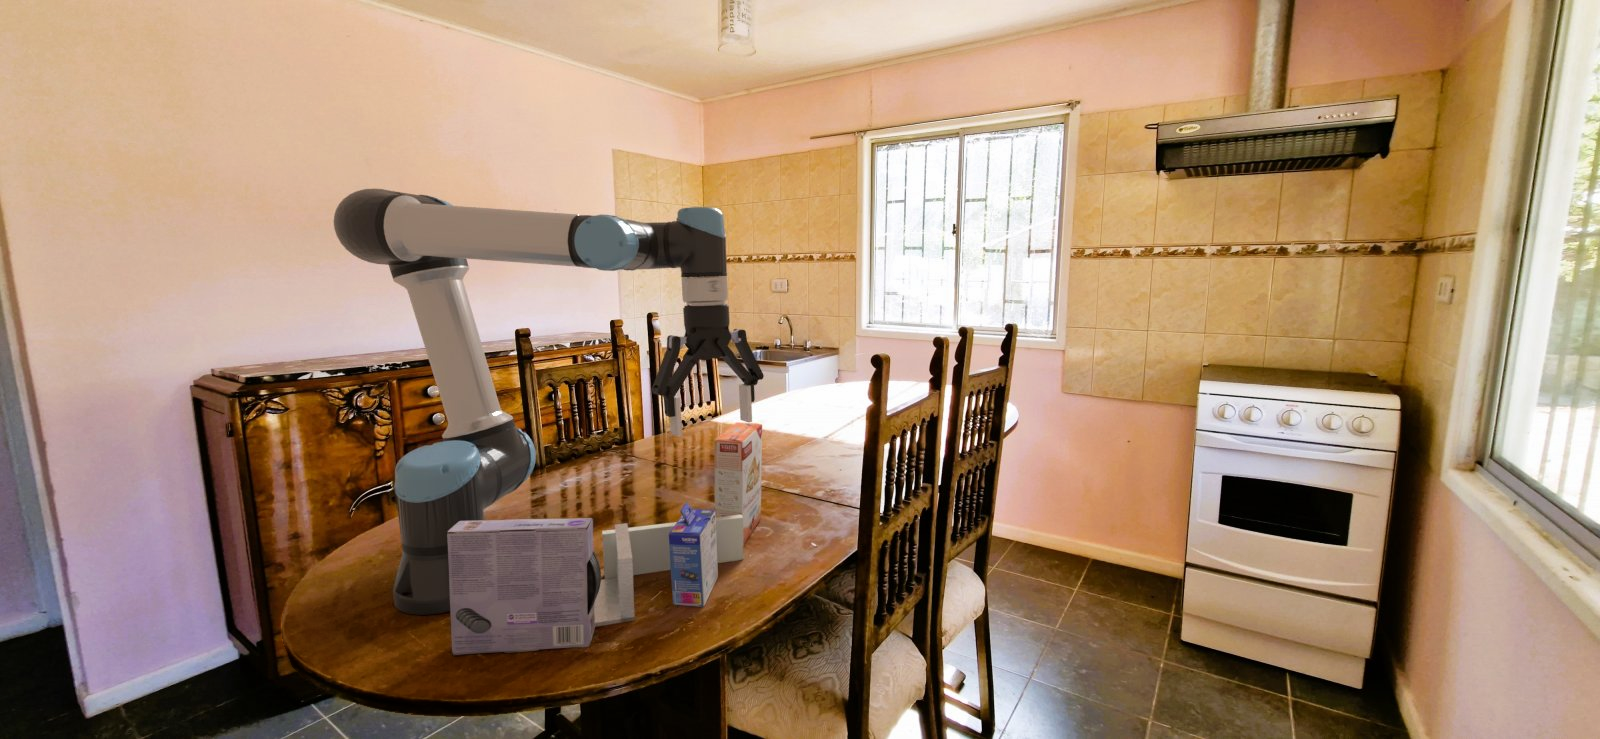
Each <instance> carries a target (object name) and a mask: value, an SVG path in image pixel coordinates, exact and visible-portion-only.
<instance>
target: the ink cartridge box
mask: <svg viewBox="0 0 1600 739" xmlns="http://www.w3.org/2000/svg"><path fill="white" fill-rule="evenodd" d="M679 511H680V514H681V516H680V517H679V519H678V520H677V521H676V522H677V523H676V524H675V526H674V527H673V528H672V530H671V531H670V533H669V548H670V564H671V570H670V576H671V591H672V594H671V595H672V604H673V605H675V606H683V607H684V606H685V607H686V606H687V607H699V608H703V607H704V606H705V605H706V603H707V601H708V600H709V599H708V598H709V597H710V594H711V592H712V590H713V588H714V586H715V584H716V582H717V579H718V577H719V570H718V569H719V568H718V563H717V538H716V517H715V509H700V508H692V507H691V506H690V504H689V503H688V502H685V503H684V505H683V506H682V507H681V508H680V510H679Z"/></svg>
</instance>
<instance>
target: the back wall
mask: <svg viewBox="0 0 1600 739" xmlns="http://www.w3.org/2000/svg"><path fill="white" fill-rule="evenodd" d="M677 522H678V521H675V522H666V523H658V524H649V525H642V526H641V525H639V526H633V527H628V531H629V538H630V545H631V552H632V563H633V576H637V575H643V574H650V573H651V574H652V573H658V572H664V571H671V564H670V548H669V533H670V531H671V530H672V528H673V527H674V526H675V524H676V523H677ZM601 532H602V533H601V534H602V550H603V551H602V553H603V554H602V555H603V556H602V557H603V573H604V575H603V576H604V579H611V578H617V565H616V541H615V528H614V529H607V530H602V531H601ZM716 538H717V564H721V563H727V562H728V563H729V562H735V561H742V560H744V545H743V516H742V515H732V516H724V517H716ZM604 579H603V580H604Z"/></svg>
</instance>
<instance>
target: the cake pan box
mask: <svg viewBox="0 0 1600 739" xmlns="http://www.w3.org/2000/svg"><path fill="white" fill-rule="evenodd" d="M447 540H448V560H449V592H450V611H449V613H450V634H451V635H450V636H451V637H450V638H451V652H452V655H453V656H463V655H473V654H487V653H503V652H504V653H508V654H509V653H524V652H537V651H539V650H549V649H550V650H551V649H563V648H564V649H566V648H567V649H569V648H589V647H590V645H591V642H592V639H593V636H594V634H595V630H596V629H595V628H596V627H595V614H594V603H595V599H596V597H597V595H598V592H599V588H600V584H601V580H602V570H601V566H600V565H601V564H600V562H599V558H598V556H597V555H596V554H597V553H596V552H595V550H594V519H593V518H592V517H576V518H575V517H573V518H571V517H570V518H522V519H521V518H520V519H517V518H515V519H490V520H489V519H487V520H485V519H484V520H478V521H459V522H458V523H456V524H455V525H454V526H453V527H452V528H451V529H450V530H448V533H447Z"/></svg>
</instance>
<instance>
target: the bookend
mask: <svg viewBox="0 0 1600 739" xmlns="http://www.w3.org/2000/svg"><path fill="white" fill-rule="evenodd" d="M628 528H629V526H628V522H625V523H617V524H614V529H615V541H616V565H617V577H616V578H609V579H601V584H600V588H599V592H598V595H597V597H596V599H595V603H594V614H595V628H596V627H602V626H603V627H604V626H609V625H615V624H619V623H620V624H621V623H626V622H632V621H633V622H634V621H635V620H636V618H635V617H636V616H635V594H634V593H635V592H634V591H635V590H634V575H633V563H632V552H631V545H630V538H629V531H628Z"/></svg>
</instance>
